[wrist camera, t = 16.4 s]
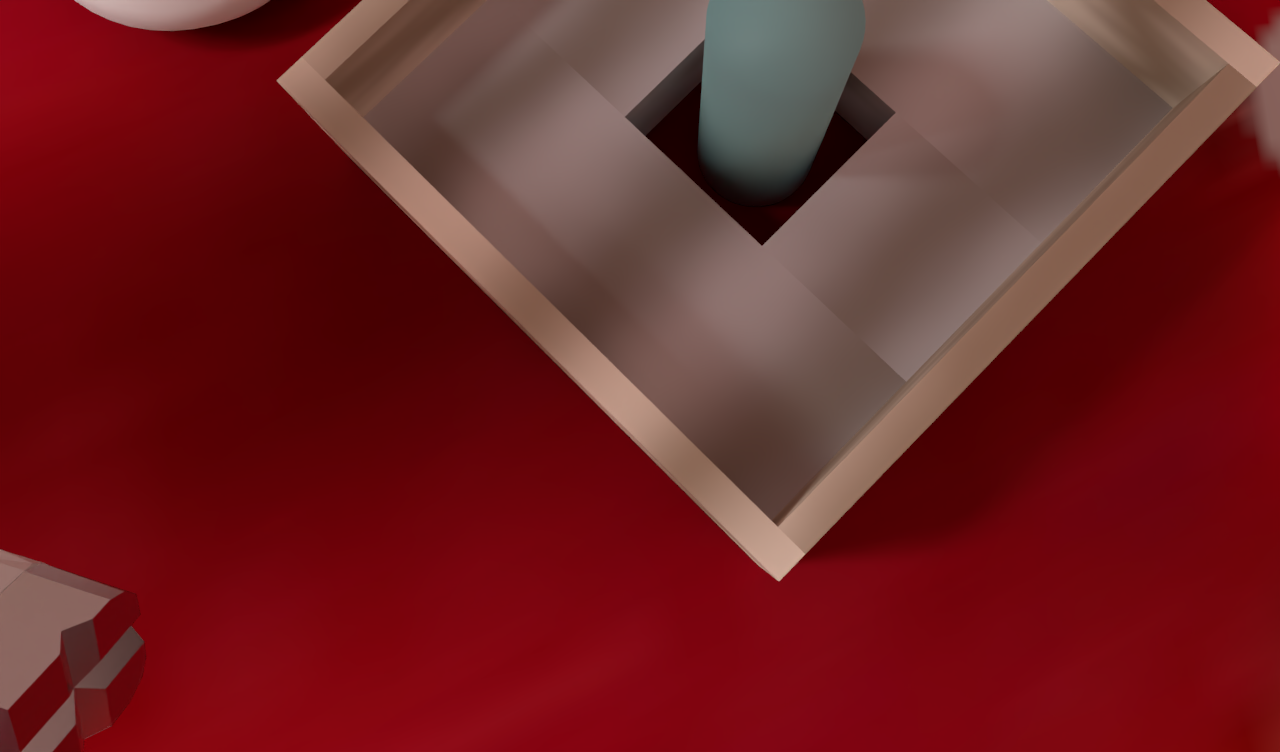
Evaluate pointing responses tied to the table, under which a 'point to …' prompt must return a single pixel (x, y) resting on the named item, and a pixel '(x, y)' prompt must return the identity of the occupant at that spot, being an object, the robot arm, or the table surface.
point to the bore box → (807, 243)
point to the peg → (771, 91)
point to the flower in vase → (171, 12)
